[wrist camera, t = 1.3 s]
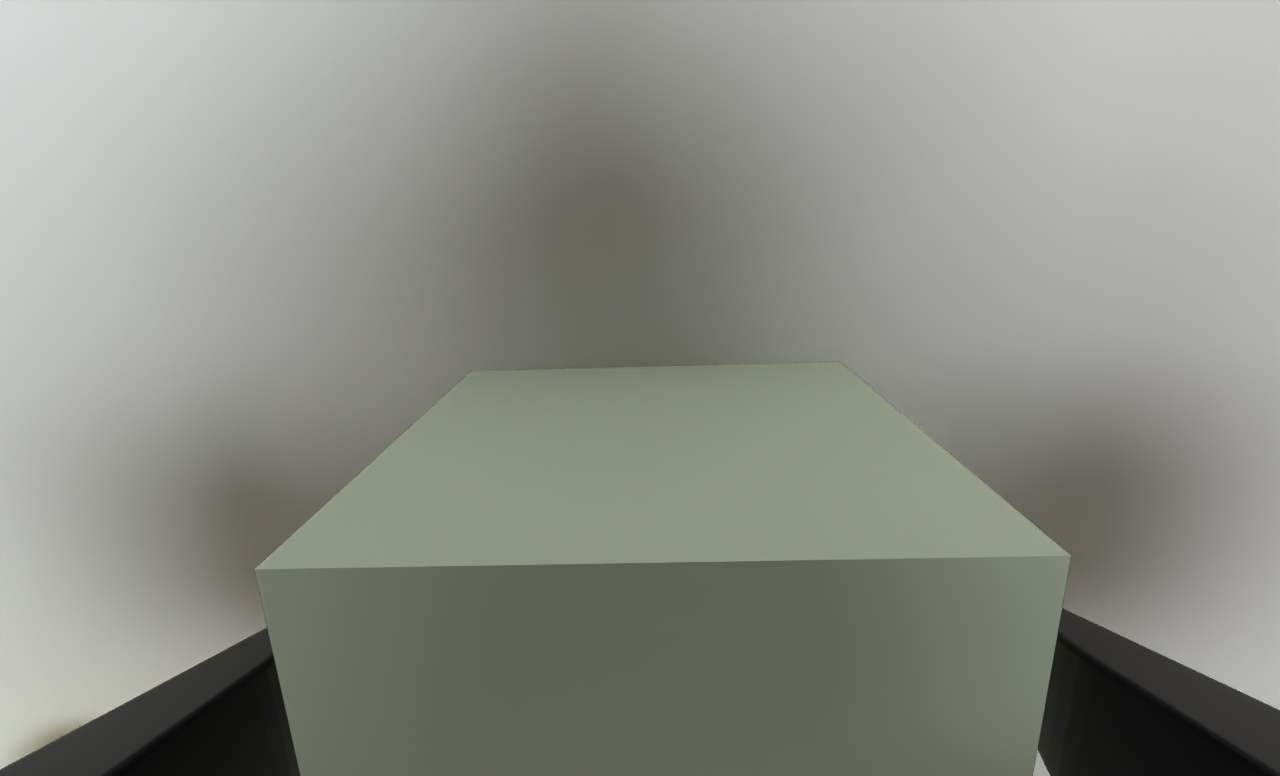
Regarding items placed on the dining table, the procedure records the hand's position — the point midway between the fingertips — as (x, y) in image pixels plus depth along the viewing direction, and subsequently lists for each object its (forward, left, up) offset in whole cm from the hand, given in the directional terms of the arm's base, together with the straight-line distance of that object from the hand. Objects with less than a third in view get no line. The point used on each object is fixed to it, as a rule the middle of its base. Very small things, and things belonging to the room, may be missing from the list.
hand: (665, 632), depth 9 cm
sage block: (0, 0, -3) cm, 3 cm away
